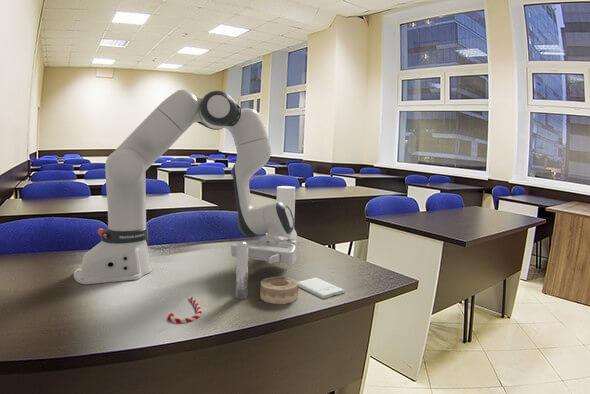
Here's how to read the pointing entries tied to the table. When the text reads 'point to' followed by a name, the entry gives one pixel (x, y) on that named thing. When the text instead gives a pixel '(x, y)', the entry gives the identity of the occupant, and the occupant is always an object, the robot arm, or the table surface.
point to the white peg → (242, 270)
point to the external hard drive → (320, 287)
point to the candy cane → (190, 319)
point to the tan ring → (279, 290)
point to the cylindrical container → (287, 197)
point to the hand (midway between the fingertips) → (253, 258)
